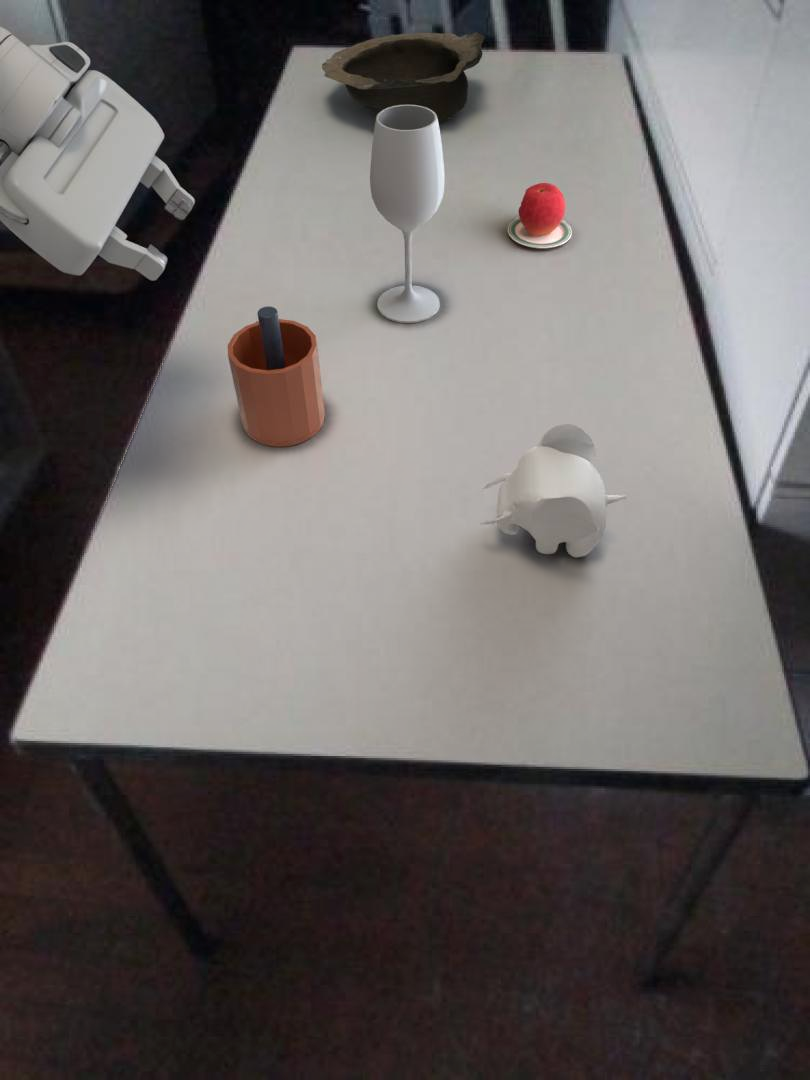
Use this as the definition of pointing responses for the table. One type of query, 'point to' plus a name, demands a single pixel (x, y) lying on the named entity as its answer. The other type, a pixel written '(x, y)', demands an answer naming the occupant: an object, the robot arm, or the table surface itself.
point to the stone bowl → (408, 70)
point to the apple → (541, 218)
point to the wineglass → (407, 194)
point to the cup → (278, 385)
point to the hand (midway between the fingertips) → (176, 239)
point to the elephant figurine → (555, 494)
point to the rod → (271, 338)
